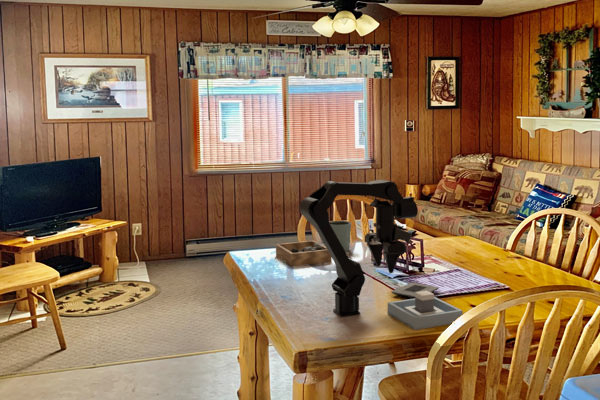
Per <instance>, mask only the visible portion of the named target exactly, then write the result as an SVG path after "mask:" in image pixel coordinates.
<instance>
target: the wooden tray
mask: <svg viewBox="0 0 600 400" xmlns="http://www.w3.org/2000/svg"><path fill="white" fill-rule="evenodd" d="M315 243H318V244H320V246H321V247H322V249H323V250H317V251H308V252H298V253H292V252H290V251H291V250H292V248H293V249H295V248H296V249H298V250H299V251H301V250H302V249H303V248H305V247H310V246H311V247H314V244H315ZM275 257H276V258H279V259H280V260H282V261H283V262H284V263H286V264H287V265H290V266H291V267H296V266H297V267H298V266H306V265H314V264H323V263H331V262H332V261H333V259H332V257H331V255H330V253H329V252H328V250H327V248H326V246H325V244H323V243H322V244H321V243H320V242H317V241H315V240H304V241H295V242H285V243H276V244H275Z"/></svg>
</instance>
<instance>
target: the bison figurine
mask: <svg viewBox="0 0 600 400" xmlns="http://www.w3.org/2000/svg"><path fill="white" fill-rule="evenodd" d="M318 243H319V242H318ZM318 243H315V244H314V247H311V246H310V247H305V248H303V249H302V250H301V251H299V250H298V249H296V248H295V249H293V248H292V250H291V251H290V252H292V253H298V252H308V251H317V250H323V249H322V247H321V246H320V244H321V243H320V244H318Z"/></svg>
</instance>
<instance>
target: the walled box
mask: <svg viewBox="0 0 600 400" xmlns="http://www.w3.org/2000/svg"><path fill="white" fill-rule="evenodd" d="M463 313H464V312H463V310H462V309H460V308H458V307H456V306H454V305H452V304H450V303H448V302H446V301H444V300H442V299H440V298H438V297H436V296H434V311H433V312H426V313H419V312H418V311H416V310H415V298H409V299H402V300H395V301H388V302H387V314H388V315H389V316H391V317H393V318H395V319H396V320H398V321H400V322H401V323H403V324H404V325H405V326H408V327H409V328H411V329H412V330H414V331H417V330H421V329H422V330H423V329H428V328H435V327H441V326H446V325H452V324H451V323H452V322H453V321H455V320H456V319H457V318H458V317H460V316H461V315H463Z"/></svg>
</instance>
